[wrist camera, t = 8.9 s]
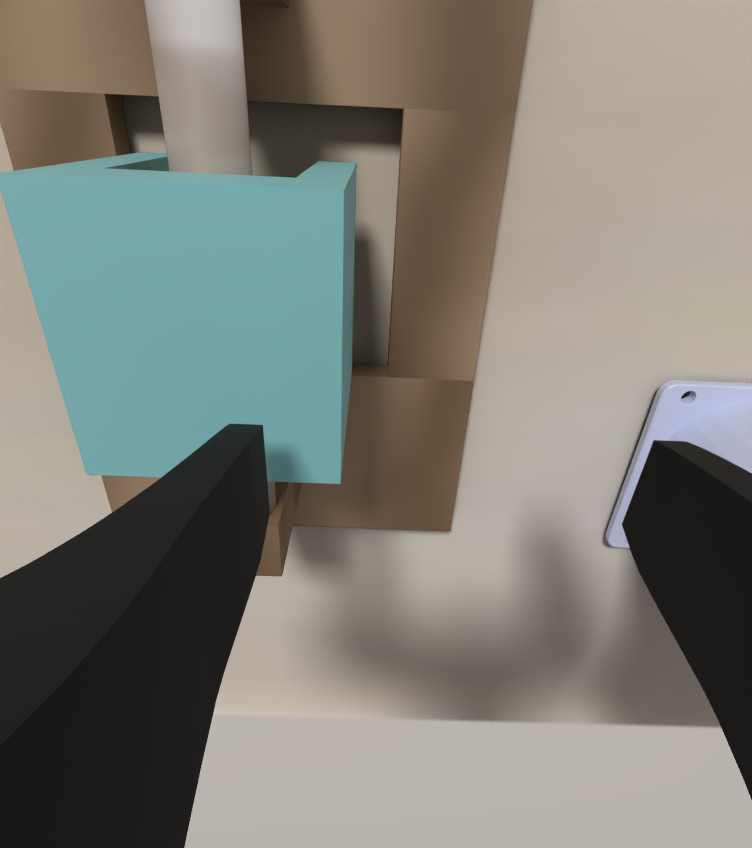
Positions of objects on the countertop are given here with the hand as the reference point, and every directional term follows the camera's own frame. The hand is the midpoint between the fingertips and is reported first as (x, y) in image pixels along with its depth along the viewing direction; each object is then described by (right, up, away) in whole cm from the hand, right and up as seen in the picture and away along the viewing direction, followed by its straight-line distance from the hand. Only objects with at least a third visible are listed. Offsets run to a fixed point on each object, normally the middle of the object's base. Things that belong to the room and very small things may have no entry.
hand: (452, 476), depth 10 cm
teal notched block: (-5, +5, +5) cm, 9 cm away
